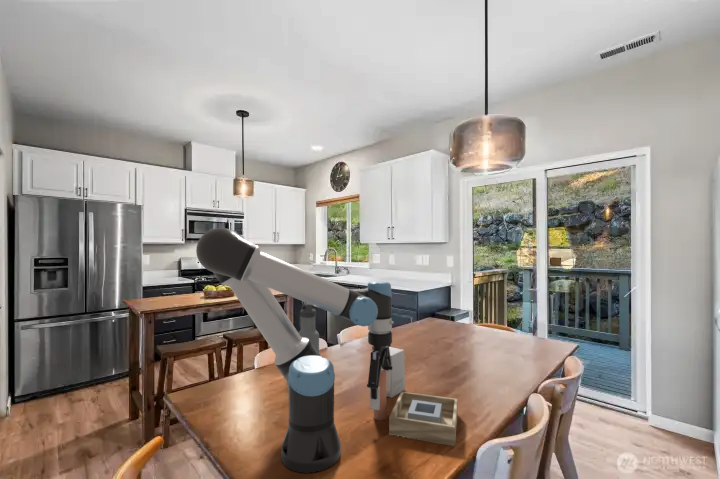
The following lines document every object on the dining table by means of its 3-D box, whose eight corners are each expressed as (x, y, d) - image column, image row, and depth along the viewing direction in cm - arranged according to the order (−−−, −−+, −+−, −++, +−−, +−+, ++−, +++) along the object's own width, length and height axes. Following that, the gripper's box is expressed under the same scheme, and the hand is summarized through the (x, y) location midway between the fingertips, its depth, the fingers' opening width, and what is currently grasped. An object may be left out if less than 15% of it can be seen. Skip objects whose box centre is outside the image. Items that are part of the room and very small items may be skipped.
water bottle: (294, 364, 156) (295, 302, 156) (315, 361, 159) (316, 301, 160) (299, 371, 146) (299, 305, 147) (321, 368, 150) (321, 304, 150)
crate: (455, 446, 92) (454, 427, 92) (389, 434, 98) (389, 417, 98) (457, 414, 109) (457, 398, 109) (401, 406, 115) (401, 391, 115)
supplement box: (385, 383, 134) (385, 345, 134) (405, 390, 128) (405, 349, 128) (371, 391, 127) (371, 350, 127) (391, 398, 121) (391, 355, 121)
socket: (439, 431, 98) (439, 417, 98) (407, 426, 100) (407, 412, 101) (441, 416, 106) (441, 403, 106) (412, 412, 109) (412, 399, 109)
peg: (384, 421, 105) (384, 375, 105) (372, 419, 106) (372, 373, 107) (387, 415, 109) (387, 370, 109) (375, 413, 110) (375, 369, 110)
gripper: (381, 342, 95) (382, 420, 95) (399, 322, 119) (400, 384, 119) (356, 340, 97) (356, 416, 97) (378, 321, 121) (379, 382, 121)
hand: (380, 399), depth 108 cm, fingers open, 13 cm apart
